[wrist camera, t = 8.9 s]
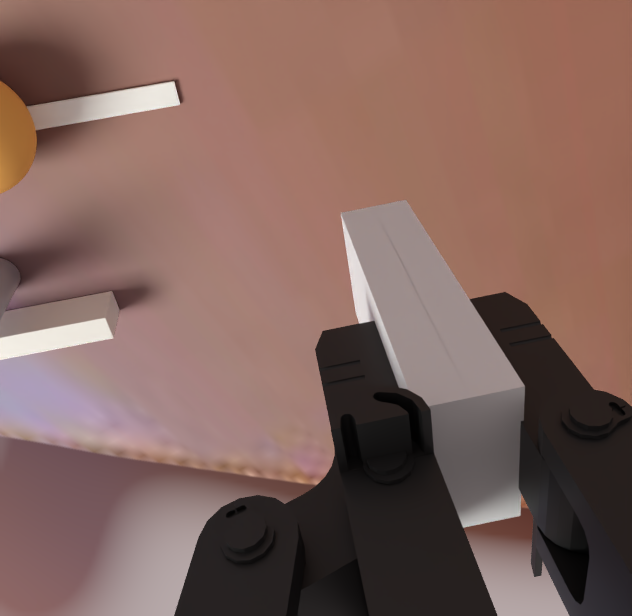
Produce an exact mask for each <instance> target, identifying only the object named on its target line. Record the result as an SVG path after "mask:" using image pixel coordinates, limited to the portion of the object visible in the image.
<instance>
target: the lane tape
mask: <svg viewBox="0 0 632 616" xmlns="http://www.w3.org/2000/svg"><path fill="white" fill-rule="evenodd" d="M176 105H180V101H179V98H178V94H177V90H176V86H175V82H174V81H170V82H164V83H158V84H153V85H147V86H141V87H135V88H130V89H124V90H118V91H112V92H107V93H101V94H95V95H90V96H84V97H78V98H72V99H67V100H61V101H55V102H50V103H44V104H38V105H32V106H27V109H28V110H29V112H30V115H31V117H32V119H33V122H34V125H35V130H40V129H46V128H52V127H57V126H63V125H69V124H74V123H80V122H86V121H91V120H97V119H103V118H108V117H114V116H120V115H125V114H131V113H137V112H142V111H148V110H154V109H159V108H165V107H171V106H176Z"/></svg>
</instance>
